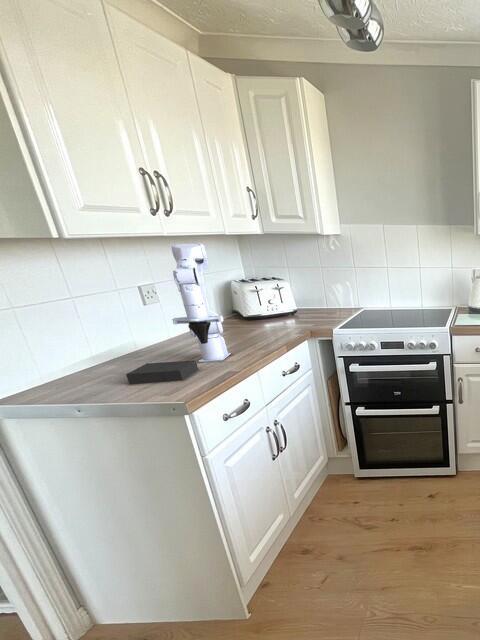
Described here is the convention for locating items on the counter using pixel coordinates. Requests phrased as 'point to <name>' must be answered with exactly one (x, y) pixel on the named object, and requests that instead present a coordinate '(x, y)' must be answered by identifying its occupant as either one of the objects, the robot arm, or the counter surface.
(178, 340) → the counter surface
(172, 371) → the tab pad
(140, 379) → the notch pad
